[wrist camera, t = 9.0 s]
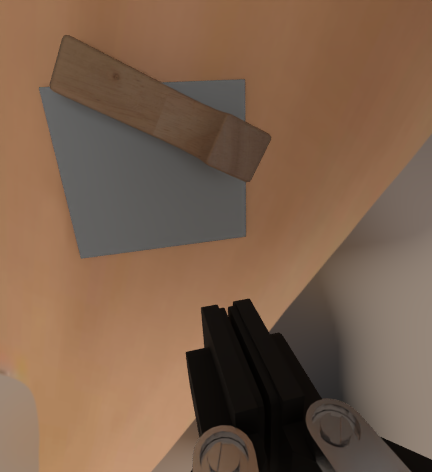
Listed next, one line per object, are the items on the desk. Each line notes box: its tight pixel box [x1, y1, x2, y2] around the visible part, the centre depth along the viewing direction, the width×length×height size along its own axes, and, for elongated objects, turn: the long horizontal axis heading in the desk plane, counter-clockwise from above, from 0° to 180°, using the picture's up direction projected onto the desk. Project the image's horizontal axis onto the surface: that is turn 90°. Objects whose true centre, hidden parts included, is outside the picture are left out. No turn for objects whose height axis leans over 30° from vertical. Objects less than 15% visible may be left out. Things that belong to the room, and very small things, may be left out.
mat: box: [39, 79, 246, 258], centre depth 35 cm, size 20×18×1 cm
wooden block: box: [50, 35, 271, 182], centre depth 28 cm, size 9×4×18 cm
